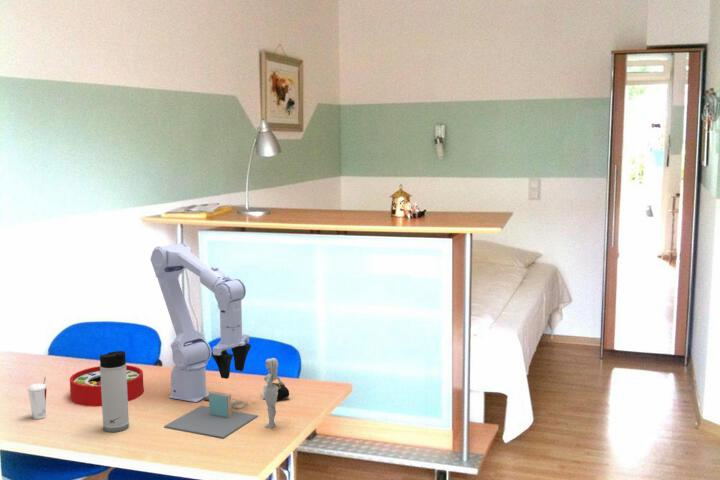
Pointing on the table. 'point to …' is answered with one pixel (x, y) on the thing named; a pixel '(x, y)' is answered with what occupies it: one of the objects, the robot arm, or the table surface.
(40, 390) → the milkshake
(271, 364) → the human figurine
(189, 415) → the mat
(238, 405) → the turner
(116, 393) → the travel mug
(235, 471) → the table surface
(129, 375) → the toy clock
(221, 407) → the tile
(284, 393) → the tape measure
